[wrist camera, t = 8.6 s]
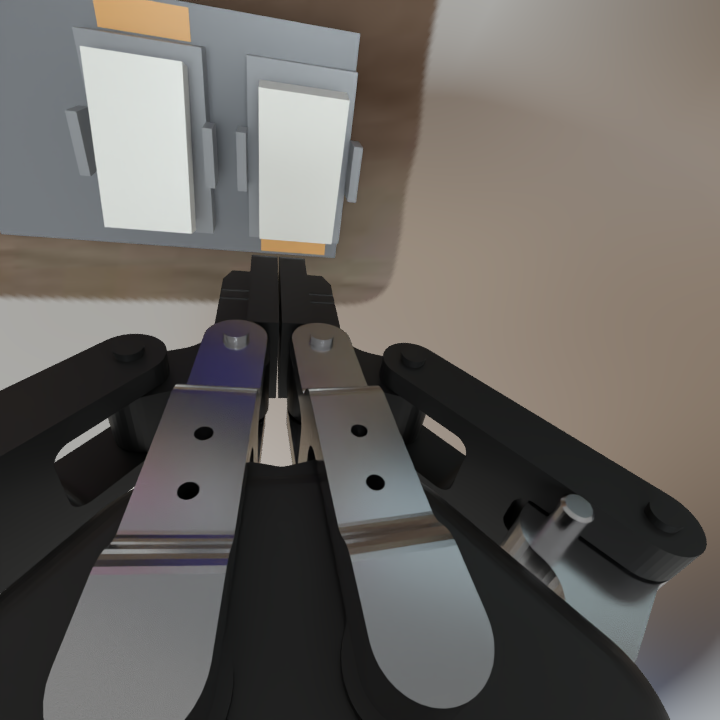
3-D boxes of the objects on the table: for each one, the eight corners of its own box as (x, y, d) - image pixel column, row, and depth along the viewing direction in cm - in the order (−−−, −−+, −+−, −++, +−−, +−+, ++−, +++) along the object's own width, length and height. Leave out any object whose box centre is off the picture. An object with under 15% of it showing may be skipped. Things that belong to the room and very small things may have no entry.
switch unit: (9, 228, 27) (-28, 255, 24) (-90, -48, 20) (-164, -63, 16) (338, 252, 32) (345, 278, 28) (364, 34, 24) (377, 35, 21)
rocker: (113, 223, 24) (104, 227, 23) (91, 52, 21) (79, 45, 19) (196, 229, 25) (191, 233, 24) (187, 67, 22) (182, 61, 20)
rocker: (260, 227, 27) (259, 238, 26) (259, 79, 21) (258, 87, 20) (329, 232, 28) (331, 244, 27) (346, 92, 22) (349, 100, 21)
